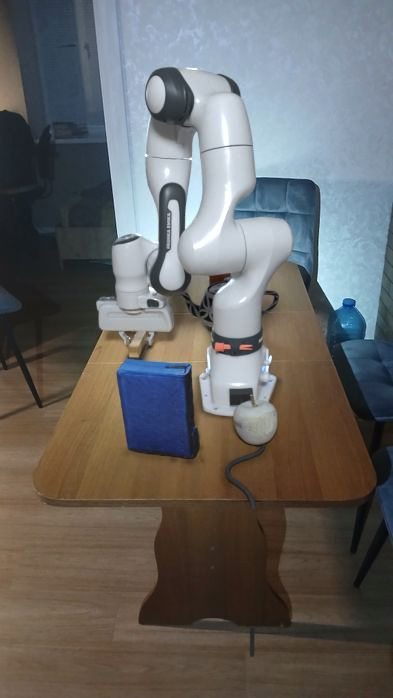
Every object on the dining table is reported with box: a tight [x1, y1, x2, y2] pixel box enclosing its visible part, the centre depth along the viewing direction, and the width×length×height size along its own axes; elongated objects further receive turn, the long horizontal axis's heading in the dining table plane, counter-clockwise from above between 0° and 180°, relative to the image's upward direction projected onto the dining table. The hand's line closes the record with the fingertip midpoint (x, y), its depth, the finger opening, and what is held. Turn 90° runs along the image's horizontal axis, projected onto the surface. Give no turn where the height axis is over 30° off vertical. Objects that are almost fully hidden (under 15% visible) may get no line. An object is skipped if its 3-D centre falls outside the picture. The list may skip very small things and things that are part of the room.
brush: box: [126, 331, 150, 361], centre depth 138 cm, size 11×4×4 cm, turn 172°
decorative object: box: [232, 395, 279, 446], centre depth 100 cm, size 9×9×10 cm
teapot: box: [179, 276, 280, 331], centre depth 148 cm, size 19×31×15 cm, turn 91°
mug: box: [208, 273, 232, 286], centre depth 173 cm, size 12×9×10 cm
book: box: [115, 358, 200, 459], centre depth 95 cm, size 14×5×20 cm, turn 76°
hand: (138, 344), depth 138 cm, fingers open, 5 cm apart
